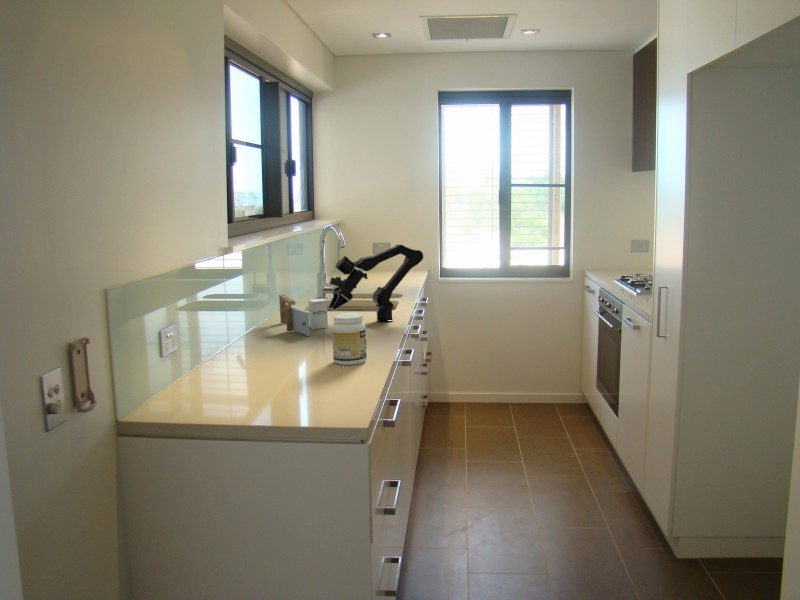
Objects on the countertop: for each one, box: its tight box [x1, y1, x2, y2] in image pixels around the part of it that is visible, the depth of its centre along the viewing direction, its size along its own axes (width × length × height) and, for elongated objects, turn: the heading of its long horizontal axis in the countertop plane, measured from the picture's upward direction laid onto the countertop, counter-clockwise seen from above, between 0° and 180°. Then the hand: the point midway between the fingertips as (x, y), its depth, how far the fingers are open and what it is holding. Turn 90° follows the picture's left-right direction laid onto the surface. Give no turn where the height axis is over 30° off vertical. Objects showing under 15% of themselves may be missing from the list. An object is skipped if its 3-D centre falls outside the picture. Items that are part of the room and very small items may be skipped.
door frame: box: [278, 294, 296, 332], centre depth 318 cm, size 22×4×14 cm, turn 22°
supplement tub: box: [331, 312, 368, 366], centre depth 251 cm, size 12×12×17 cm
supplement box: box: [308, 298, 329, 330], centre depth 316 cm, size 7×7×13 cm
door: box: [291, 307, 311, 337], centre depth 303 cm, size 16×2×10 cm, turn 32°
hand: (331, 308), depth 317 cm, fingers open, 9 cm apart
